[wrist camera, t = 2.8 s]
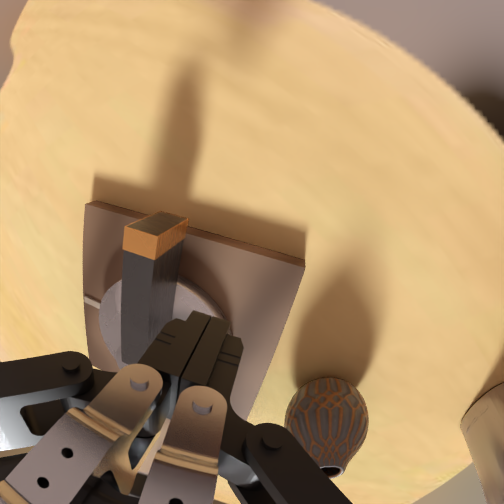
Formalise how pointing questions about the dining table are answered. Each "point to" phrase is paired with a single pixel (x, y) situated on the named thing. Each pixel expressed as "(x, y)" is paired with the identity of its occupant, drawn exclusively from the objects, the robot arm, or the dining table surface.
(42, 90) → the dining table surface
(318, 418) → the vase
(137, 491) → the jar
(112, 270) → the base
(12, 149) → the dining table surface
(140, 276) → the knob
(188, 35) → the dining table surface
